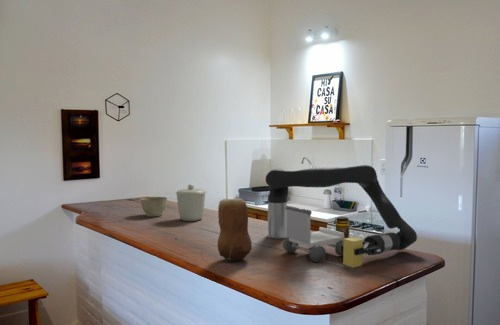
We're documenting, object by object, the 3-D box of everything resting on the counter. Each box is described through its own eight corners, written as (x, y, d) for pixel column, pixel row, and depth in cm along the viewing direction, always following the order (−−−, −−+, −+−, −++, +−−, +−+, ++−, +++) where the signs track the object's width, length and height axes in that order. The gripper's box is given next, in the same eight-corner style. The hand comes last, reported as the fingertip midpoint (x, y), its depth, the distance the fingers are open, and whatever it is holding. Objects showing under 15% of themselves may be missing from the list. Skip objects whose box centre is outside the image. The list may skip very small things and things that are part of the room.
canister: (172, 218, 262) (171, 183, 261) (201, 215, 270) (200, 182, 268) (180, 223, 246) (180, 186, 244) (210, 221, 253) (210, 185, 252)
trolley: (312, 264, 167) (312, 211, 166) (281, 253, 183) (281, 205, 182) (350, 255, 179) (351, 206, 177) (318, 245, 195) (319, 200, 193)
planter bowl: (172, 214, 274) (172, 197, 273) (154, 219, 260) (154, 201, 260) (154, 212, 282) (153, 195, 282) (135, 216, 269) (135, 199, 268)
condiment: (347, 246, 194) (347, 219, 193) (329, 244, 198) (329, 218, 197) (351, 242, 200) (352, 217, 199) (334, 240, 204) (334, 215, 204)
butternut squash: (233, 253, 182) (232, 194, 181) (258, 259, 174) (258, 197, 172) (210, 261, 172) (209, 198, 170) (235, 267, 163) (234, 201, 162)
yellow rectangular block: (353, 267, 163) (353, 241, 162) (343, 264, 167) (343, 238, 166) (362, 265, 165) (362, 239, 165) (352, 262, 169) (352, 236, 169)
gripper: (364, 231, 179) (334, 236, 170) (393, 238, 167) (363, 244, 158) (364, 249, 180) (334, 255, 171) (392, 257, 168) (362, 264, 159)
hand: (348, 250), depth 164 cm, fingers open, 6 cm apart
